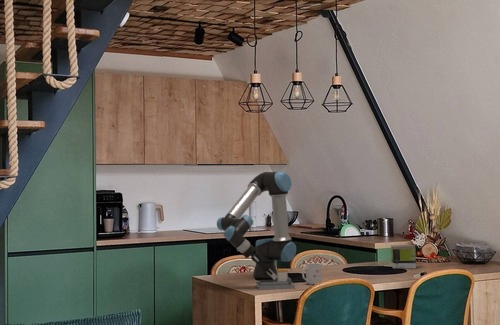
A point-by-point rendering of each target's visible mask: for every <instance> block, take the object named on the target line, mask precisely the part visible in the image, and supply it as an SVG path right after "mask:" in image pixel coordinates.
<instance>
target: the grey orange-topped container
mask: <svg viewBox="0 0 500 325" xmlns="http://www.w3.org/2000/svg"><path fill="white" fill-rule="evenodd" d="M276 269H277V276H278V277H277V278H276V280H277V282H280V281H288V279H287V277H288V269H287V268H276Z"/></svg>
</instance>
